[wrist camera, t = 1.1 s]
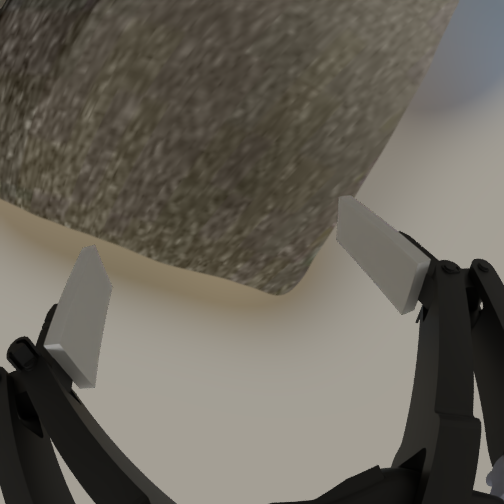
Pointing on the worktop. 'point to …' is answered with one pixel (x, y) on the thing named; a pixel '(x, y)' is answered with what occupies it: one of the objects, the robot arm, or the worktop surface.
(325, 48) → the worktop surface
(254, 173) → the worktop surface
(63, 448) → the robot arm
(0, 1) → the decorative sign
